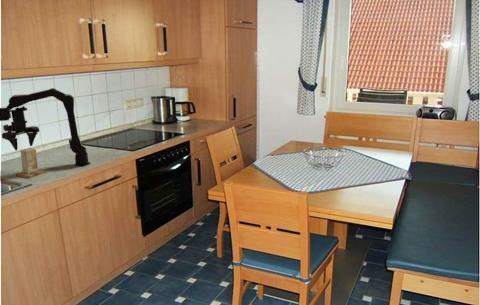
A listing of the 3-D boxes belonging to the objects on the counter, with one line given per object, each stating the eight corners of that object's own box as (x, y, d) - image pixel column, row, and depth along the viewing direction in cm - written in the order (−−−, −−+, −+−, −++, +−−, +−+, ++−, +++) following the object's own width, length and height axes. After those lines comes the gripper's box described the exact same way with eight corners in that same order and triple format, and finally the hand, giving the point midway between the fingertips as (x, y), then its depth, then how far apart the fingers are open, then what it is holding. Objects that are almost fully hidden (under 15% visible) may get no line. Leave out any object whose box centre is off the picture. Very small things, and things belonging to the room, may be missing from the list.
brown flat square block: (32, 171, 222) (32, 168, 221) (46, 174, 218) (45, 170, 217) (16, 177, 213) (15, 173, 212) (30, 179, 209) (29, 176, 208)
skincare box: (28, 174, 211) (25, 151, 208) (22, 172, 213) (19, 150, 210) (38, 170, 217) (36, 148, 214) (32, 169, 219) (30, 147, 215)
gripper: (23, 115, 225) (27, 142, 229) (-9, 122, 209) (-3, 151, 213) (37, 116, 221) (42, 144, 225) (7, 123, 204) (12, 153, 209)
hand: (23, 148), depth 218 cm, fingers open, 9 cm apart
